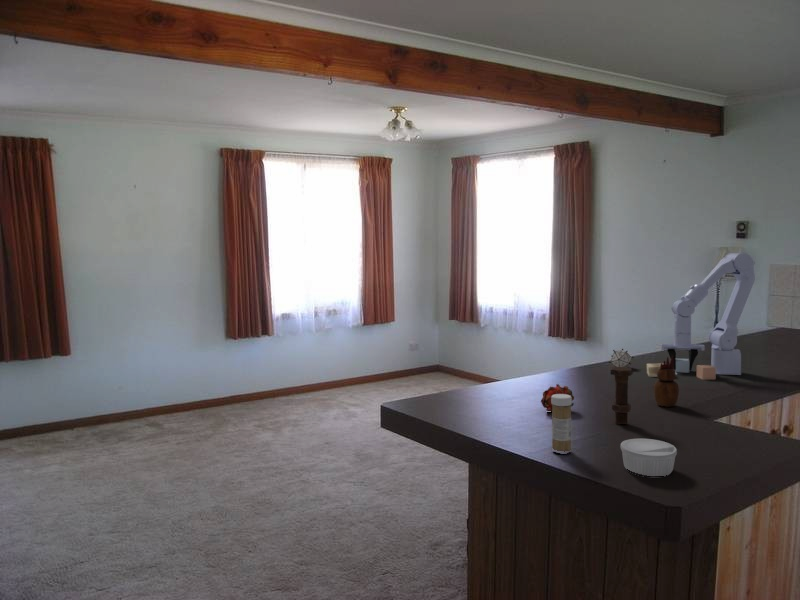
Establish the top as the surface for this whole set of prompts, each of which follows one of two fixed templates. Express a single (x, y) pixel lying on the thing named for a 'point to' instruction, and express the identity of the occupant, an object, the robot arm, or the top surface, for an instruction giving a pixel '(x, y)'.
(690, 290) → the robot arm
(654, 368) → the maple base block
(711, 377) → the terracotta block
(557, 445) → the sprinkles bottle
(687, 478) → the top surface
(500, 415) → the top surface
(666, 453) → the ramekin
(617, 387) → the bolt
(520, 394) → the top surface
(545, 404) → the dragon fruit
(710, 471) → the top surface
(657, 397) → the wooden figurine
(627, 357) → the game die
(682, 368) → the blue-grey block
